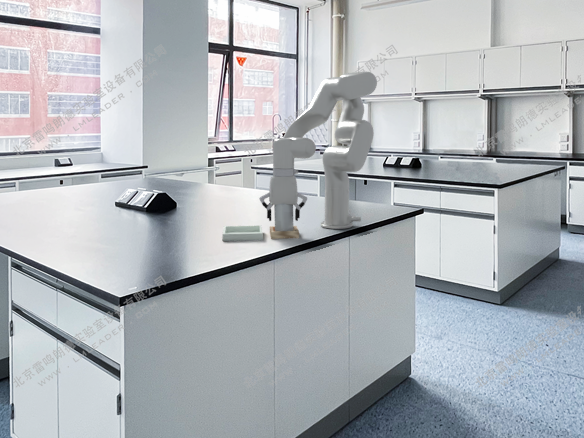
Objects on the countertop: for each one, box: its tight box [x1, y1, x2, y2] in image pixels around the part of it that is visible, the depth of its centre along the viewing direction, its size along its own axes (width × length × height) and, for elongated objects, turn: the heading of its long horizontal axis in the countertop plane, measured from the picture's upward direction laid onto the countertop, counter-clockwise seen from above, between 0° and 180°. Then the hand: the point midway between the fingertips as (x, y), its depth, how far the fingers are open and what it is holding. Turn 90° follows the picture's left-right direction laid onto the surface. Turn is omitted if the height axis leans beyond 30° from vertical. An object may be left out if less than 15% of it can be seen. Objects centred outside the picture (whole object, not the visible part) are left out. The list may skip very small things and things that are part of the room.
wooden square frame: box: [269, 225, 300, 240], centre depth 193 cm, size 10×10×2 cm
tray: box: [222, 225, 264, 242], centre depth 192 cm, size 14×14×2 cm
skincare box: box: [273, 204, 294, 231], centre depth 192 cm, size 6×4×12 cm
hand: (283, 220), depth 192 cm, fingers open, 9 cm apart
